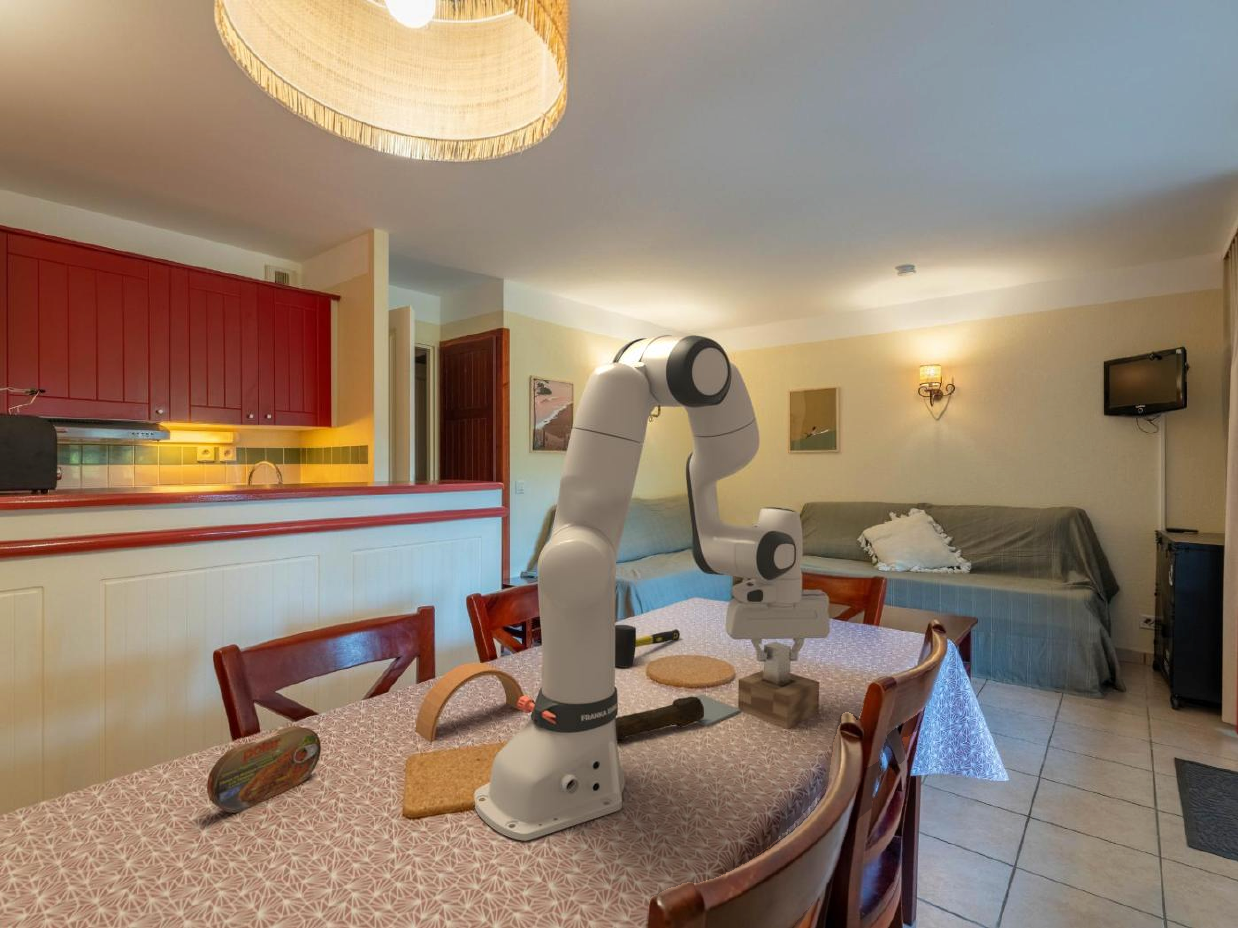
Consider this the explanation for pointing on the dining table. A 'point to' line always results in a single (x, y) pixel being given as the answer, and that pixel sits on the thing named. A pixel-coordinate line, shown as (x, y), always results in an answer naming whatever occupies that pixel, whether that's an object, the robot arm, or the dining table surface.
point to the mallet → (636, 643)
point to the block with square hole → (779, 699)
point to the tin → (263, 768)
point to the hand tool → (660, 717)
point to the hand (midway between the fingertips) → (777, 660)
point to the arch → (451, 684)
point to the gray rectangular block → (777, 664)
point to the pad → (715, 711)
